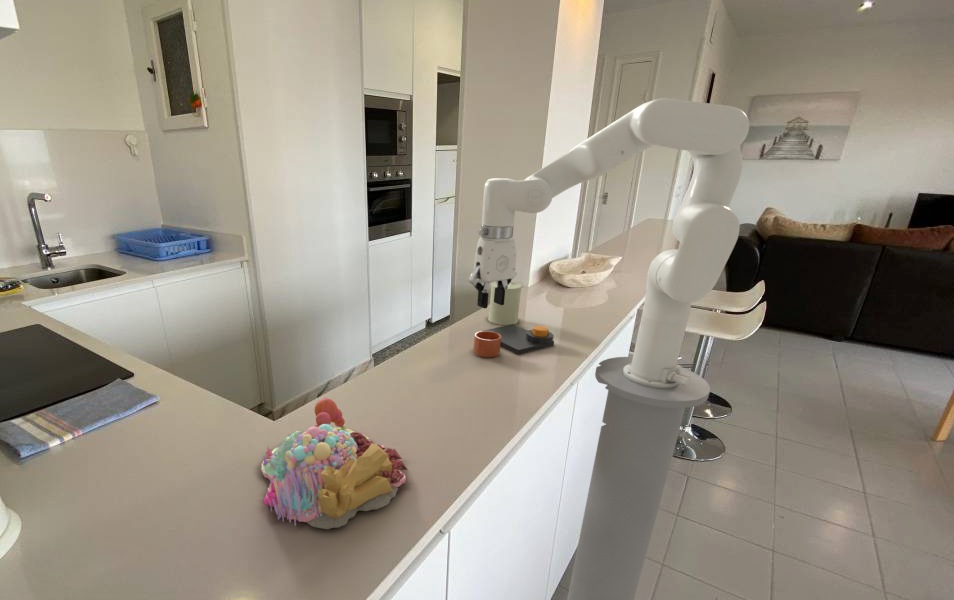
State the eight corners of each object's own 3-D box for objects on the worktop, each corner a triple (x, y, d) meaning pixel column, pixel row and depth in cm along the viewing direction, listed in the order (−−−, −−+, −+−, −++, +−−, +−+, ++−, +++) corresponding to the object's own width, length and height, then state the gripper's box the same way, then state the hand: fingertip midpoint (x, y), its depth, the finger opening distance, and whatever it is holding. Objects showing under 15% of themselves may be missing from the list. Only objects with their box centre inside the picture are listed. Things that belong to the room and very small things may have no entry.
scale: (557, 345, 131) (558, 335, 130) (519, 355, 125) (520, 344, 124) (515, 327, 144) (516, 318, 143) (478, 335, 138) (479, 326, 137)
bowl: (505, 355, 125) (506, 337, 123) (484, 360, 122) (486, 342, 120) (487, 346, 131) (489, 329, 129) (468, 351, 128) (469, 333, 126)
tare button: (550, 336, 131) (551, 329, 130) (540, 338, 129) (541, 331, 128) (539, 331, 134) (540, 324, 133) (529, 334, 132) (530, 327, 131)
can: (524, 321, 150) (528, 284, 145) (504, 327, 145) (507, 288, 140) (502, 313, 157) (505, 278, 152) (482, 319, 152) (484, 282, 147)
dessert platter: (432, 472, 79) (434, 424, 76) (329, 558, 63) (326, 501, 59) (328, 421, 94) (325, 379, 91) (222, 480, 78) (215, 431, 74)
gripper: (479, 237, 108) (473, 314, 115) (534, 232, 115) (525, 304, 122) (458, 233, 114) (454, 306, 121) (512, 228, 121) (505, 297, 128)
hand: (490, 304), depth 121 cm, fingers open, 4 cm apart
